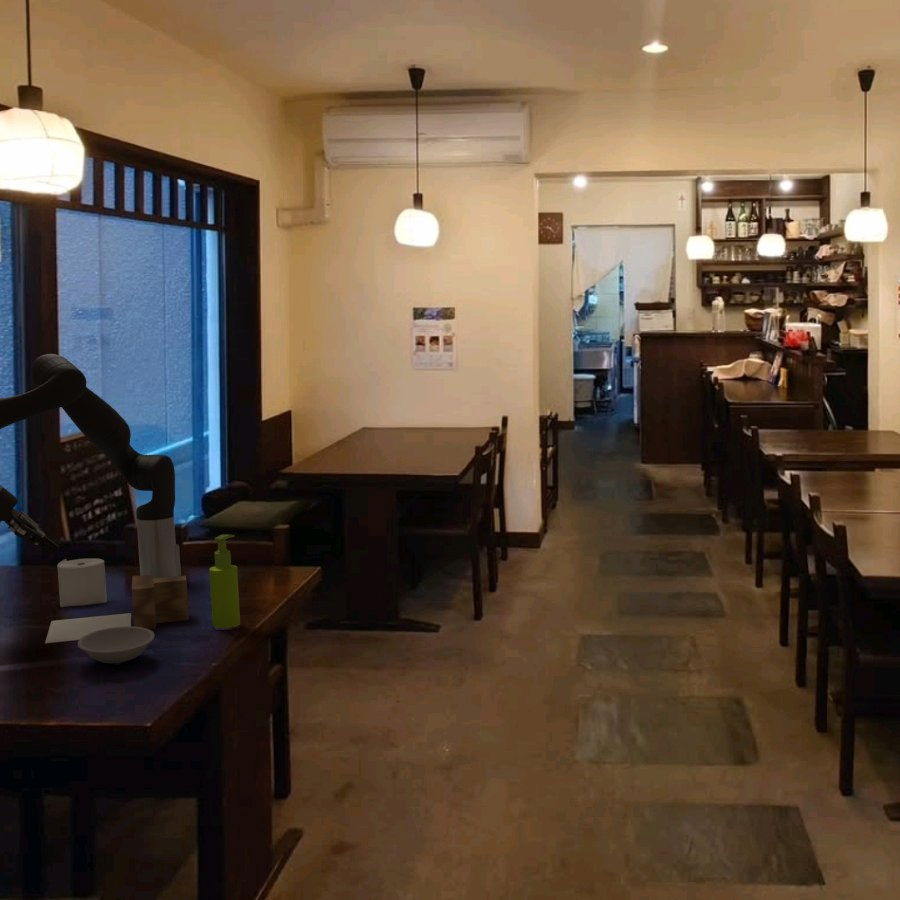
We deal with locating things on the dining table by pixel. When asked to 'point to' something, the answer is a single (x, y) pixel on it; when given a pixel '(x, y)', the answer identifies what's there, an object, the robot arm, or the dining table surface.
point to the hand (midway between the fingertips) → (55, 550)
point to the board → (84, 626)
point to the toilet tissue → (81, 582)
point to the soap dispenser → (224, 587)
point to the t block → (159, 600)
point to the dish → (116, 643)
